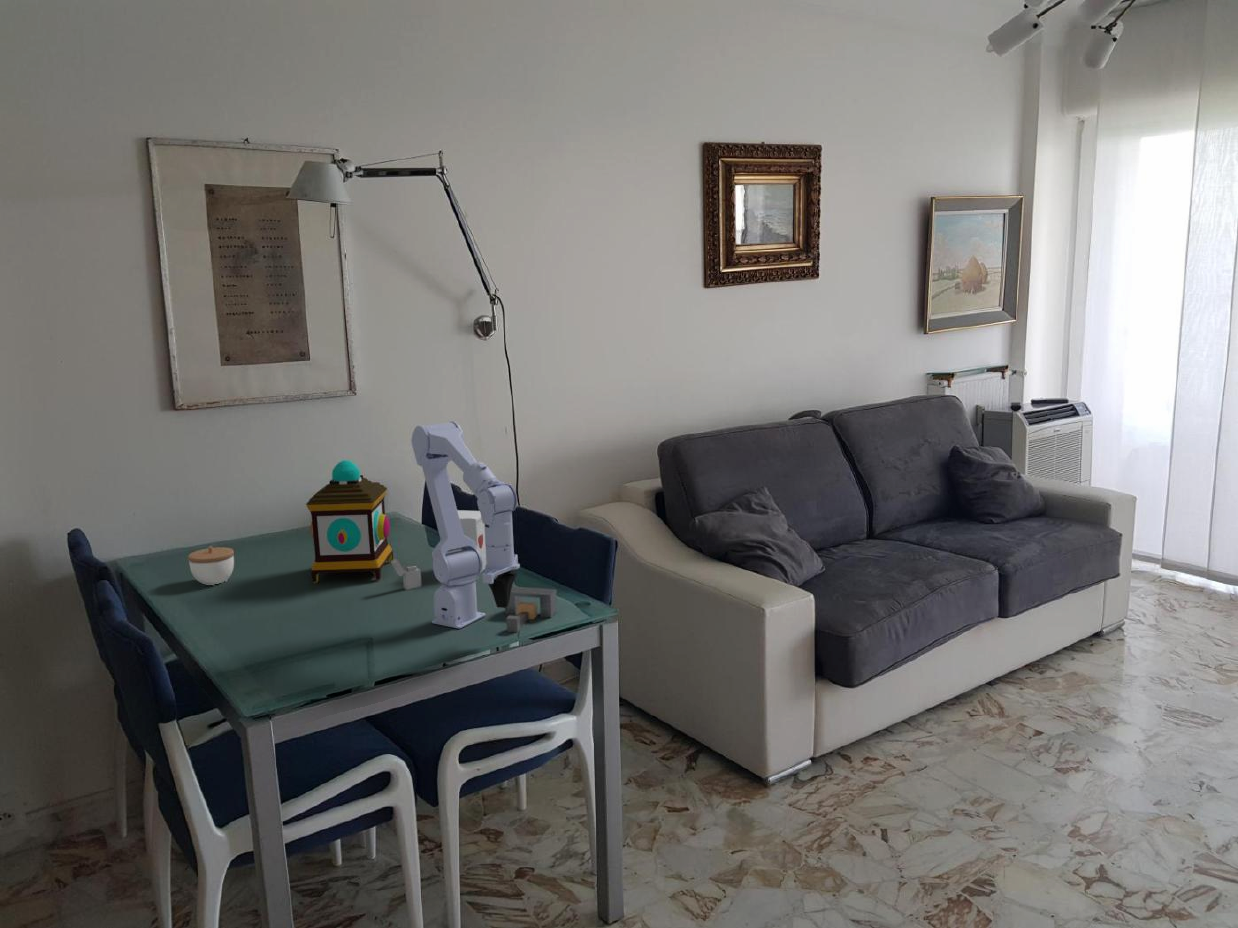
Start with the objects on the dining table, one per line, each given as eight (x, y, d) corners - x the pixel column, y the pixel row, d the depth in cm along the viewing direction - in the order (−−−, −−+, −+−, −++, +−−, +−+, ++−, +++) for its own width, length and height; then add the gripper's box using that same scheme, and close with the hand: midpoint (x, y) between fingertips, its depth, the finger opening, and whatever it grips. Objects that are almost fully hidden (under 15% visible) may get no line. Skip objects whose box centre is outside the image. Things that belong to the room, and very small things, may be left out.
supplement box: (478, 575, 244) (475, 518, 241) (445, 574, 246) (442, 518, 243) (490, 565, 253) (487, 510, 250) (458, 563, 254) (455, 509, 252)
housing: (551, 617, 212) (550, 595, 211) (505, 614, 215) (504, 591, 214) (557, 611, 216) (556, 589, 215) (511, 608, 219) (510, 586, 218)
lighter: (418, 584, 238) (416, 553, 236) (421, 586, 237) (419, 555, 235) (392, 590, 234) (390, 559, 232) (395, 592, 232) (393, 560, 231)
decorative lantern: (304, 585, 239) (293, 468, 234) (325, 562, 259) (316, 454, 253) (384, 582, 240) (375, 466, 234) (399, 560, 259) (392, 451, 254)
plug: (520, 632, 204) (519, 619, 203) (504, 631, 205) (503, 617, 204) (536, 615, 214) (536, 602, 213) (521, 614, 215) (521, 601, 214)
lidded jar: (198, 591, 237) (194, 555, 235) (186, 581, 245) (182, 546, 243) (242, 582, 243) (238, 546, 241) (228, 573, 251) (225, 538, 250)
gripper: (504, 554, 188) (507, 619, 190) (529, 535, 202) (532, 596, 204) (471, 552, 190) (475, 617, 192) (498, 533, 203) (501, 594, 206)
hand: (502, 606), depth 198 cm, fingers closed
